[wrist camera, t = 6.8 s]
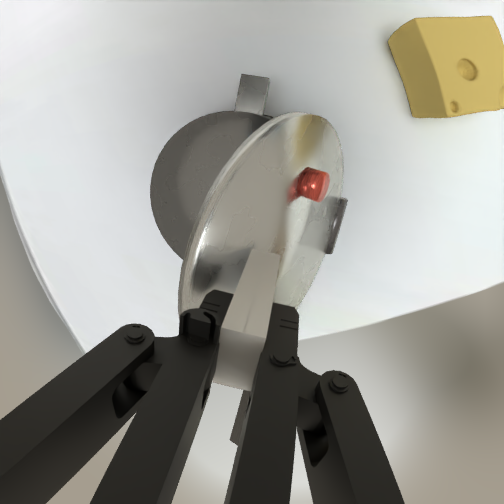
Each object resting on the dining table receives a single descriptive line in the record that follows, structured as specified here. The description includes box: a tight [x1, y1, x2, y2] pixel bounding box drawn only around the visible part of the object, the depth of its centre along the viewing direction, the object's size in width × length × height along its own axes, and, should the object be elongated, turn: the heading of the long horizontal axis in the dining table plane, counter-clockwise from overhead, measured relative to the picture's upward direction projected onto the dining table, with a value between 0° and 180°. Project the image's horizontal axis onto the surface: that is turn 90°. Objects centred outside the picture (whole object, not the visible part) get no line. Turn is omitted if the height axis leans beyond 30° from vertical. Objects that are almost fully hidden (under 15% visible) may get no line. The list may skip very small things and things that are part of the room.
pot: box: [150, 74, 273, 259], centre depth 33 cm, size 29×18×9 cm, turn 169°
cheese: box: [388, 16, 504, 118], centre depth 23 cm, size 10×11×10 cm
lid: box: [178, 112, 348, 445], centre depth 23 cm, size 30×18×2 cm
